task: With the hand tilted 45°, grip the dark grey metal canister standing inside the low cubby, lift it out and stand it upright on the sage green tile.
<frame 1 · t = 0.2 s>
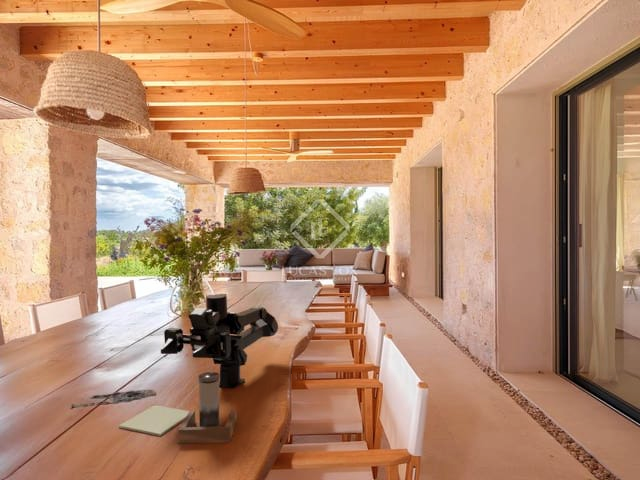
hand: (177, 353, 104), 17 cm above the table, tool horizontal, fingers open, 9 cm apart
tile: (157, 420, 105), on the table
cubby: (209, 430, 100), on the table
driftwood: (116, 401, 118), on the table
canister: (209, 403, 100), in the cubby
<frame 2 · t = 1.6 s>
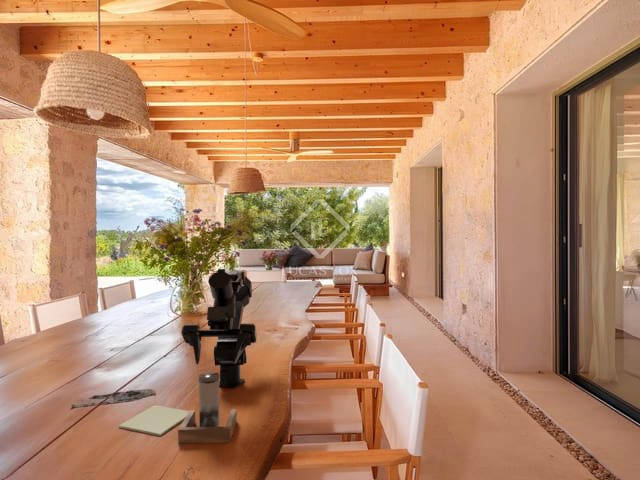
hand: (215, 363, 107), 13 cm above the table, tool tilted 45°, fingers open, 9 cm apart
nothing on the table moved.
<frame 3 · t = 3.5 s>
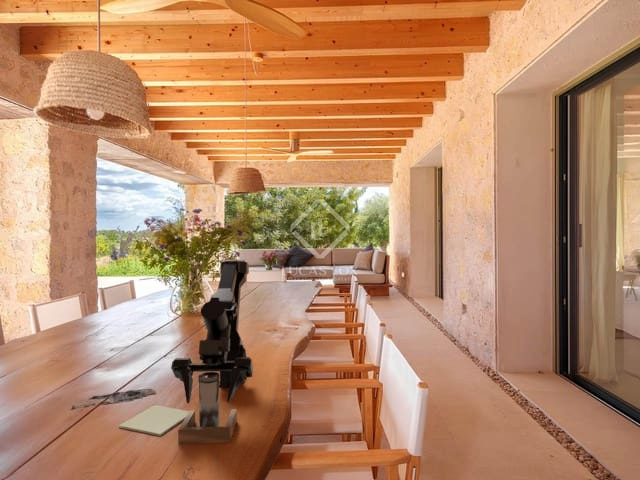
hand: (208, 402, 98), 7 cm above the table, tool tilted 45°, fingers open, 9 cm apart
nothing on the table moved.
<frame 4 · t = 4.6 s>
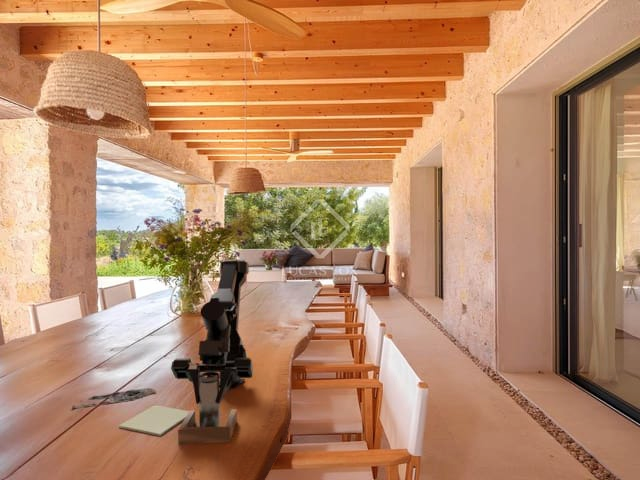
hand: (208, 403, 98), 7 cm above the table, tool tilted 45°, fingers closed on canister, 4 cm apart
canister: (209, 403, 100), in the cubby, touching gripper
everything else where it was.
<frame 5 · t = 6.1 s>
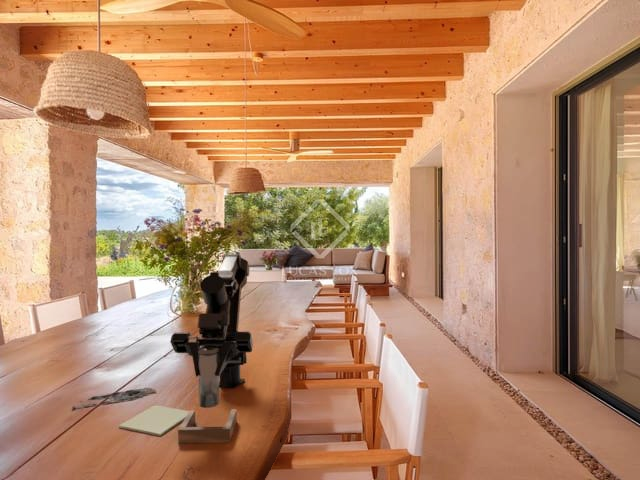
hand: (207, 375, 98), 13 cm above the table, tool tilted 45°, fingers closed on canister, 4 cm apart
canister: (208, 376, 99), point 13 cm above the table, touching gripper
everything else where it was.
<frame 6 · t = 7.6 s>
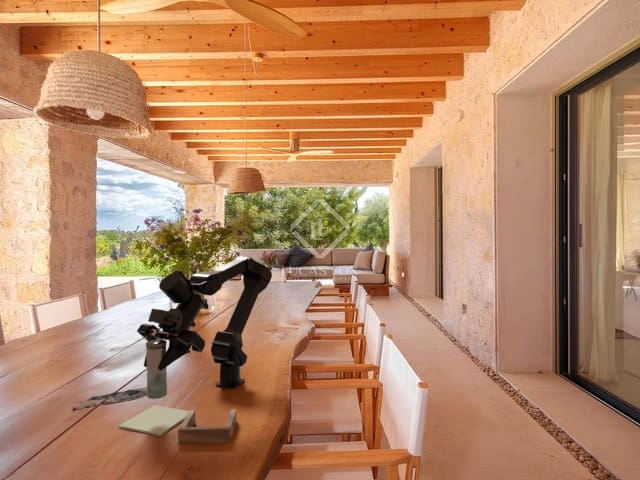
hand: (152, 368, 103), 13 cm above the table, tool tilted 45°, fingers closed on canister, 4 cm apart
canister: (156, 368, 104), point 13 cm above the table, touching gripper
when the fingers open (9 cm above the table, at t = 9.3 s): canister drops 1 cm, resting on tile.
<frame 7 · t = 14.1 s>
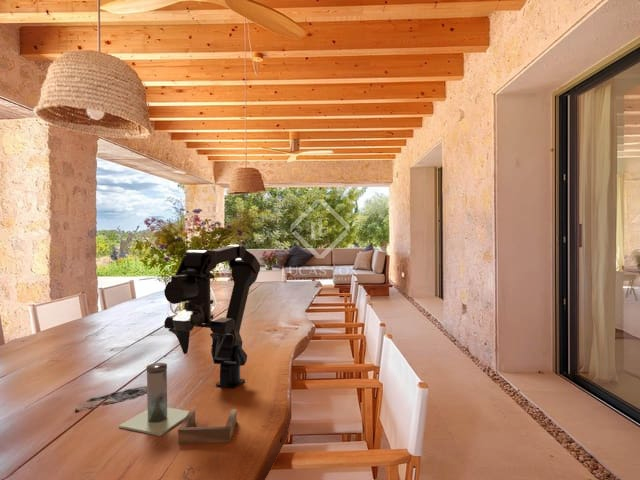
hand: (200, 355, 114), 13 cm above the table, tool pointing down, fingers open, 9 cm apart
canister: (157, 392, 105), on the tile
at the end: canister inside the target area on the tile (0.1 cm from its centre), point 7.0 cm above the tile's base; canister tilted 0°; the gripper is holding nothing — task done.
